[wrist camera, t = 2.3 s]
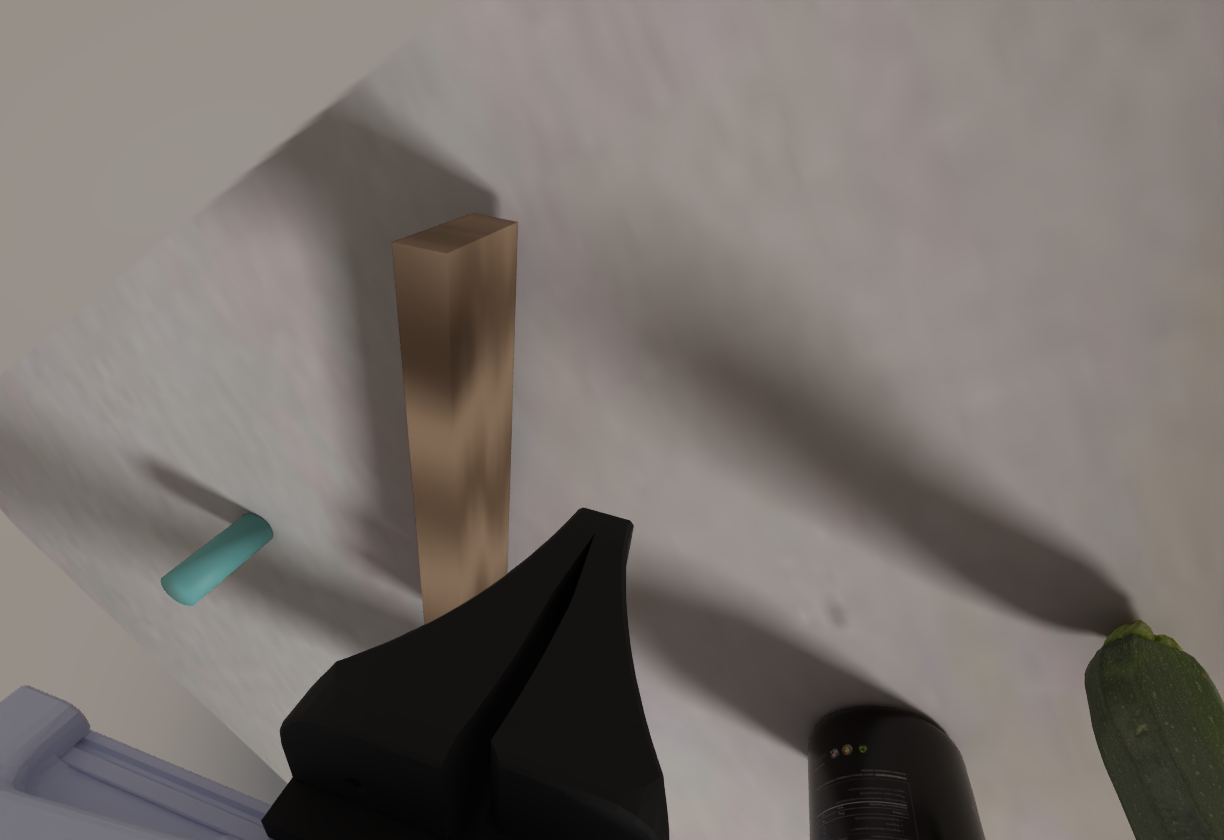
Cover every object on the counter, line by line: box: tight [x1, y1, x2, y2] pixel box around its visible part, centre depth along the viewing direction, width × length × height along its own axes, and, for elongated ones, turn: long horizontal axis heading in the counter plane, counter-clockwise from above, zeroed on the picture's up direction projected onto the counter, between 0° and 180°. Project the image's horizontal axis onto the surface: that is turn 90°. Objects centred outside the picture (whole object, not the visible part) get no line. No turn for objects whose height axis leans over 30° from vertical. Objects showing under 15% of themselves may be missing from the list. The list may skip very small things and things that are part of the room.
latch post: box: [161, 513, 273, 606], centre depth 30 cm, size 2×2×5 cm
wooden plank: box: [392, 213, 518, 625], centre depth 22 cm, size 21×2×6 cm, turn 173°
